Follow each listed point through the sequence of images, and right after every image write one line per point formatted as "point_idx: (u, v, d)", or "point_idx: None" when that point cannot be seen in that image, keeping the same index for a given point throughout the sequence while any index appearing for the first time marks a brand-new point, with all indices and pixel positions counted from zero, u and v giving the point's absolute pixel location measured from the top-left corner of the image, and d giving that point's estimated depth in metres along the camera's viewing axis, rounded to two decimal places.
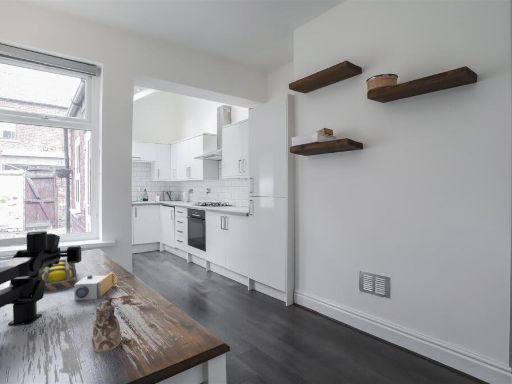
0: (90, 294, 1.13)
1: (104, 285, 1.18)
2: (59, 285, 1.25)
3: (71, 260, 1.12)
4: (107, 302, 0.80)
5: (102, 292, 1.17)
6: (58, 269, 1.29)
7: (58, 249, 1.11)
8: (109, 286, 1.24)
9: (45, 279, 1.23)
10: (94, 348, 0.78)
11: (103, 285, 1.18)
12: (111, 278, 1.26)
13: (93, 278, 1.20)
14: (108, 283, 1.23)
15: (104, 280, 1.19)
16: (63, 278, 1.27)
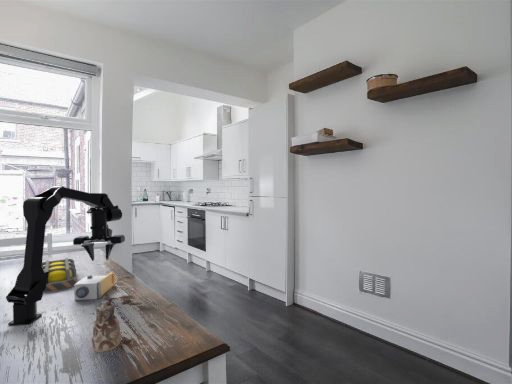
0: (90, 294, 1.13)
1: (104, 285, 1.18)
2: (60, 285, 1.25)
3: (115, 236, 1.24)
4: (107, 302, 0.80)
5: (102, 292, 1.17)
6: (58, 269, 1.29)
7: (109, 233, 1.28)
8: (109, 286, 1.24)
9: None
10: (94, 348, 0.78)
11: (103, 285, 1.18)
12: (111, 278, 1.26)
13: (93, 278, 1.20)
14: (108, 283, 1.23)
15: (104, 280, 1.19)
16: (63, 278, 1.27)
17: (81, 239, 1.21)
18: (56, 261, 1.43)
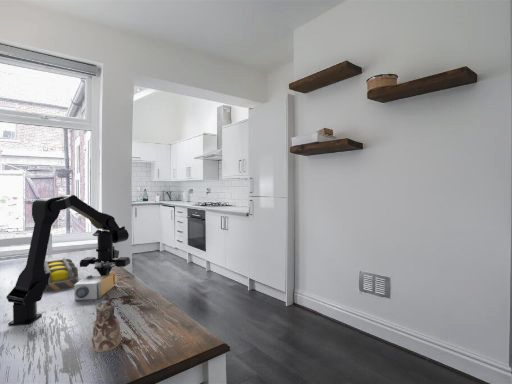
0: (90, 294, 1.13)
1: (104, 285, 1.18)
2: (63, 285, 1.25)
3: (120, 259, 1.24)
4: (107, 302, 0.80)
5: (102, 292, 1.17)
6: (60, 269, 1.29)
7: (115, 255, 1.28)
8: (110, 286, 1.24)
9: None
10: (94, 348, 0.78)
11: (103, 285, 1.18)
12: (112, 278, 1.26)
13: (93, 278, 1.20)
14: (109, 283, 1.23)
15: (104, 280, 1.19)
16: (66, 277, 1.28)
17: (87, 261, 1.23)
18: (54, 261, 1.43)
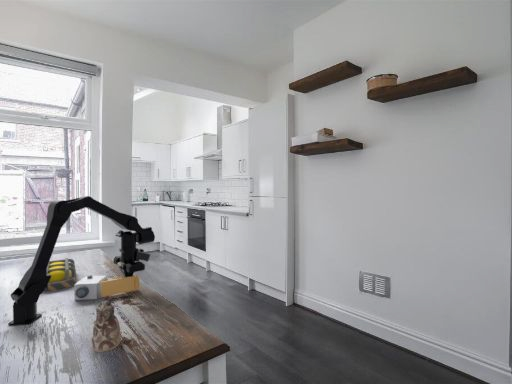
0: (90, 294, 1.13)
1: (111, 287, 1.16)
2: (59, 285, 1.24)
3: (130, 263, 1.16)
4: (107, 302, 0.80)
5: (106, 293, 1.15)
6: (58, 269, 1.29)
7: (137, 258, 1.22)
8: (126, 289, 1.20)
9: None
10: (94, 348, 0.78)
11: (109, 286, 1.16)
12: (132, 282, 1.21)
13: (93, 278, 1.20)
14: (123, 286, 1.19)
15: (112, 282, 1.17)
16: (63, 278, 1.27)
17: (116, 259, 1.25)
18: (56, 261, 1.43)
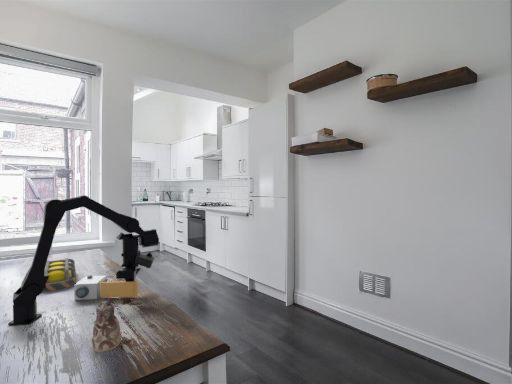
0: (90, 294, 1.13)
1: (109, 289, 1.14)
2: (58, 285, 1.24)
3: (121, 269, 1.09)
4: (107, 302, 0.80)
5: (104, 294, 1.14)
6: (57, 269, 1.29)
7: (136, 263, 1.14)
8: (124, 294, 1.14)
9: None
10: (94, 348, 0.78)
11: (107, 288, 1.14)
12: (130, 287, 1.14)
13: (93, 278, 1.20)
14: (121, 290, 1.14)
15: (110, 284, 1.14)
16: (62, 278, 1.27)
17: None
18: (56, 261, 1.43)
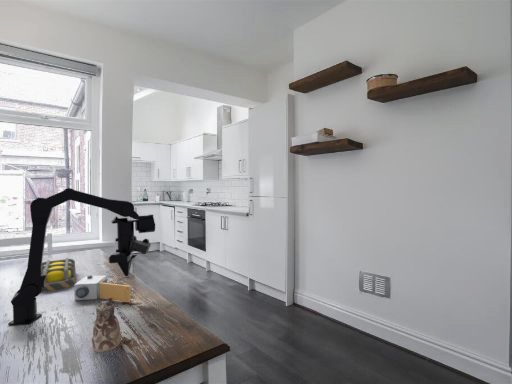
0: (90, 294, 1.13)
1: (106, 291, 1.12)
2: (57, 286, 1.24)
3: (114, 253, 1.04)
4: (107, 302, 0.80)
5: (103, 295, 1.13)
6: (57, 269, 1.29)
7: (131, 248, 1.09)
8: (118, 298, 1.11)
9: None
10: (94, 348, 0.78)
11: (105, 289, 1.13)
12: (123, 291, 1.10)
13: (93, 278, 1.20)
14: (116, 293, 1.11)
15: (107, 285, 1.12)
16: (61, 278, 1.27)
17: None
18: (57, 261, 1.43)
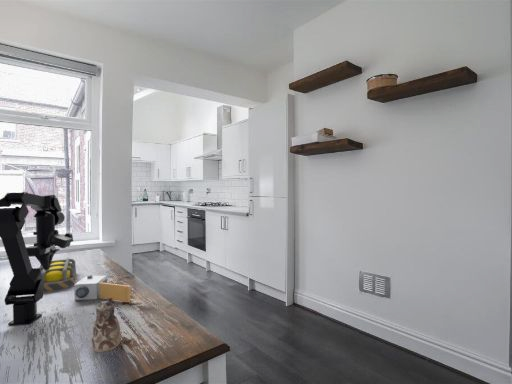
0: (90, 294, 1.13)
1: (106, 291, 1.12)
2: (56, 286, 1.24)
3: (27, 247, 1.04)
4: (107, 302, 0.80)
5: (103, 295, 1.13)
6: (56, 269, 1.29)
7: (48, 242, 1.08)
8: (118, 298, 1.11)
9: None
10: (94, 348, 0.78)
11: (105, 289, 1.13)
12: (123, 291, 1.10)
13: (93, 278, 1.20)
14: (116, 293, 1.11)
15: (107, 285, 1.12)
16: (60, 278, 1.27)
17: None
18: (57, 261, 1.43)
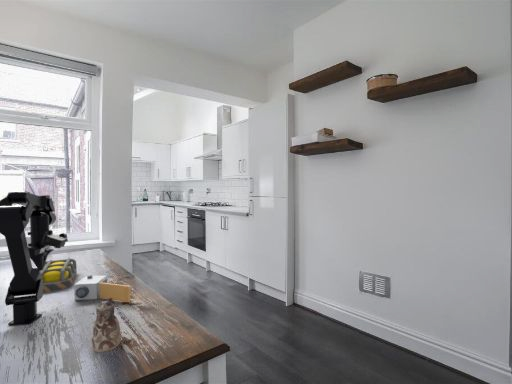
0: (90, 294, 1.13)
1: (106, 291, 1.12)
2: (53, 286, 1.23)
3: None
4: (107, 302, 0.80)
5: (103, 295, 1.13)
6: (54, 270, 1.28)
7: (43, 242, 1.08)
8: (118, 298, 1.11)
9: None
10: (94, 348, 0.78)
11: (105, 289, 1.13)
12: (123, 291, 1.10)
13: (93, 278, 1.20)
14: (116, 293, 1.11)
15: (107, 285, 1.12)
16: (58, 279, 1.26)
17: None
18: (58, 261, 1.44)
